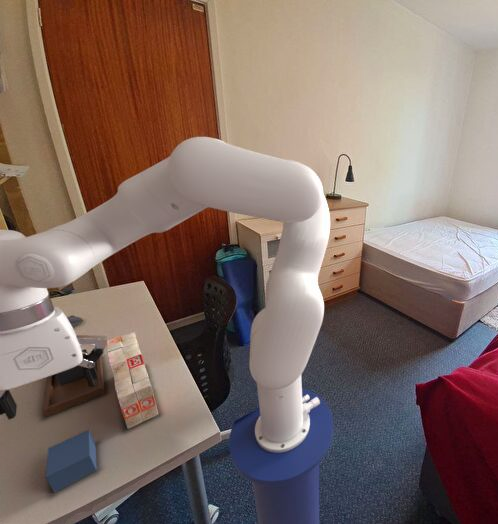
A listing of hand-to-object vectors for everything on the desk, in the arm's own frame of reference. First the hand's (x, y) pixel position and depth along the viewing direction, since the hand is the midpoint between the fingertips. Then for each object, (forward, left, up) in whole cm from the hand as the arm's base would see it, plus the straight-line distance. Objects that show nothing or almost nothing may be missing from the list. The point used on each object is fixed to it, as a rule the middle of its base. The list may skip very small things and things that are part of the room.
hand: (55, 396), depth 49 cm
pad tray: (+2, -30, -19) cm, 35 cm away
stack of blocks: (-10, -16, -19) cm, 27 cm away
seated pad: (+2, -34, -18) cm, 39 cm away
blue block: (+2, -2, -19) cm, 19 cm away
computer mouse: (+5, -65, -19) cm, 68 cm away
